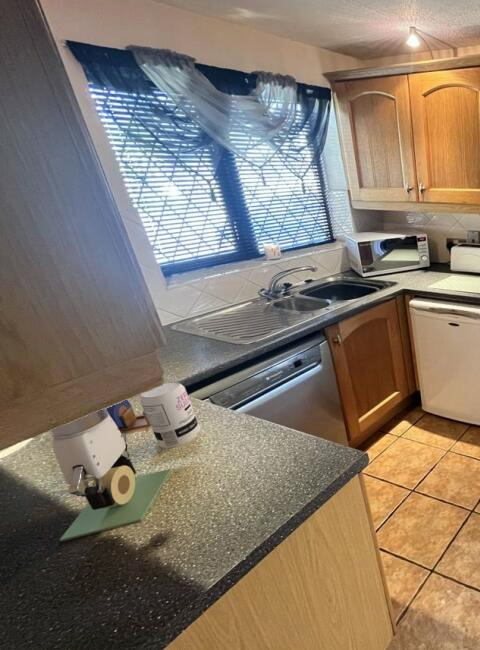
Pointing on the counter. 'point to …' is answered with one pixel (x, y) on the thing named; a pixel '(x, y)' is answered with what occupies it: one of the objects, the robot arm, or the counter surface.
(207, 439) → the counter surface
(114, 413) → the vinyl tape
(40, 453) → the counter surface
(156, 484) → the mat
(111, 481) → the masking tape
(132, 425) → the tape rack
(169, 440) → the supplement can
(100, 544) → the counter surface
